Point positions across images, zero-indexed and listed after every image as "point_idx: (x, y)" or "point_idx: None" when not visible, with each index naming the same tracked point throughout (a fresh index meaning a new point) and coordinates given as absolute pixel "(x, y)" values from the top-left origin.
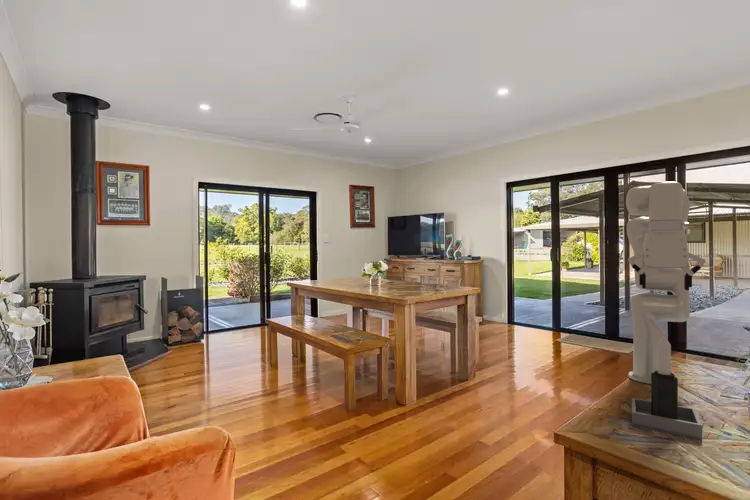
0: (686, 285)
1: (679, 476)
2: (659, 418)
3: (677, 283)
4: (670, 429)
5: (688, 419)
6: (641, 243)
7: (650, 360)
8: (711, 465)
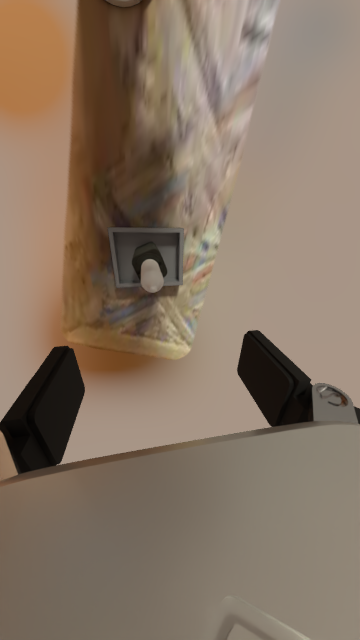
0: (249, 386)
1: (156, 354)
2: None
3: None
4: None
5: (173, 234)
6: None
7: None
8: (178, 327)
